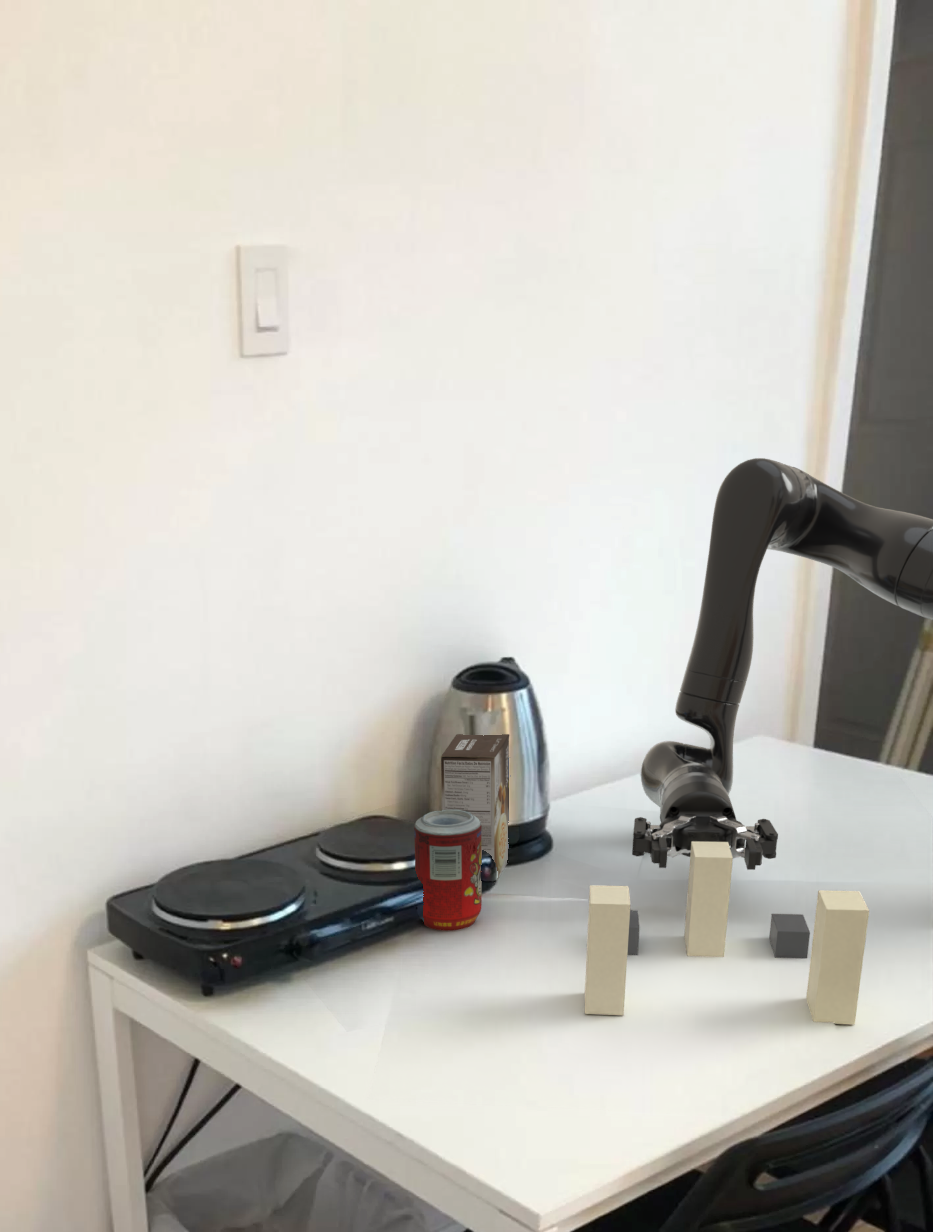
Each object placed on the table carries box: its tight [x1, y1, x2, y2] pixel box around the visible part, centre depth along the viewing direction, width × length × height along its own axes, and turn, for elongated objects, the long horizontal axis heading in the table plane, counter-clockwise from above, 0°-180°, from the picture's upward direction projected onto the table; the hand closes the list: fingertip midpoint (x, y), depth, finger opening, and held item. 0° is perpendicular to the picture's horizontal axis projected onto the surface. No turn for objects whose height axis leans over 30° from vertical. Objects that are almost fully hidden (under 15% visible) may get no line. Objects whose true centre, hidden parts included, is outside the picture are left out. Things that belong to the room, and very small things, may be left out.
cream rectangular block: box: [584, 884, 631, 1016], centre depth 139 cm, size 4×5×11 cm
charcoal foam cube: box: [768, 913, 811, 959], centre depth 148 cm, size 3×5×4 cm, turn 167°
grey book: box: [627, 909, 641, 956], centre depth 152 cm, size 3×5×4 cm, turn 167°
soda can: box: [413, 809, 483, 932], centre depth 160 cm, size 7×7×12 cm
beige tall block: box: [805, 889, 870, 1026], centre depth 134 cm, size 4×5×11 cm
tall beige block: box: [683, 841, 734, 958], centre depth 149 cm, size 4×5×11 cm
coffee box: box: [440, 733, 511, 882], centre depth 173 cm, size 9×6×16 cm
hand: (707, 859), depth 150 cm, fingers open, 8 cm apart
